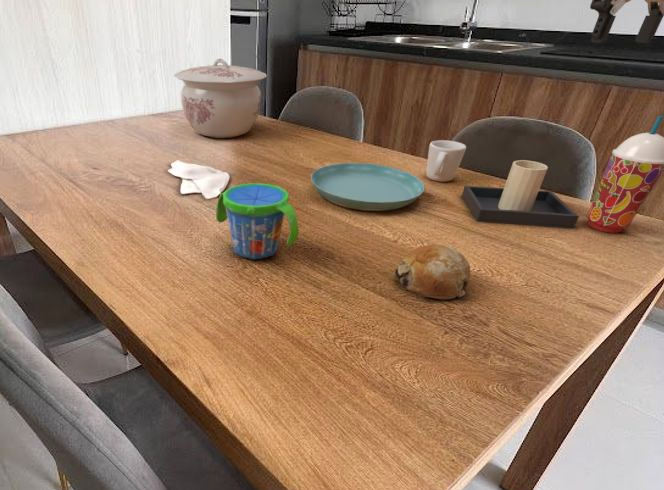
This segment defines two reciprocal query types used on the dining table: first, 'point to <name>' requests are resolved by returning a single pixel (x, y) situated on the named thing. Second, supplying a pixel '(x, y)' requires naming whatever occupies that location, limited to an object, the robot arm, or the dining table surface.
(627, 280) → the dining table surface
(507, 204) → the tumbler
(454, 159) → the cup
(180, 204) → the dining table surface
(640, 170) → the smoothie
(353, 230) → the dining table surface
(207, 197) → the cloth
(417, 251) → the bread roll
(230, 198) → the snack cup
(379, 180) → the teal plate
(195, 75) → the chamber pot
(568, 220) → the tray
